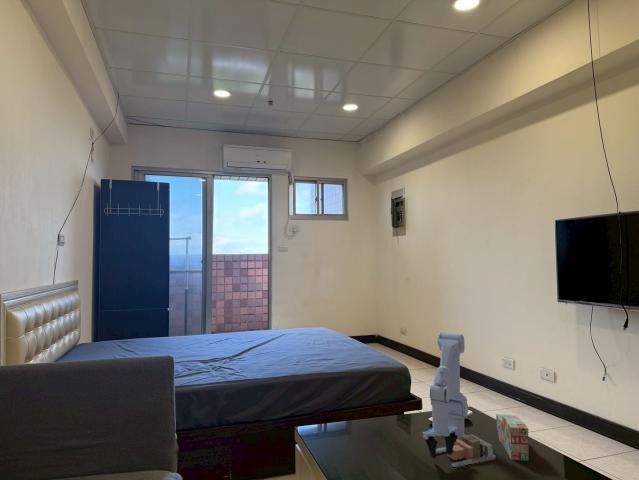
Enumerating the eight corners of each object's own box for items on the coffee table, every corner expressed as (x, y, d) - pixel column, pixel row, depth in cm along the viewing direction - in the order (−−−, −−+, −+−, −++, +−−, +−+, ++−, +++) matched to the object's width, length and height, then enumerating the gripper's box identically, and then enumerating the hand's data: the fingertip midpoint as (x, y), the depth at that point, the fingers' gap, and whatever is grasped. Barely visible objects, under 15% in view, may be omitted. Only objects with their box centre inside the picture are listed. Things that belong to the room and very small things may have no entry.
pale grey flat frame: (432, 452, 158) (431, 440, 158) (471, 444, 165) (470, 433, 165) (454, 468, 146) (454, 455, 146) (495, 458, 152) (495, 446, 153)
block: (461, 451, 158) (460, 436, 159) (469, 450, 160) (468, 434, 160) (472, 458, 153) (471, 442, 153) (480, 456, 154) (480, 440, 155)
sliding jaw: (443, 453, 157) (443, 441, 157) (459, 450, 159) (459, 438, 160) (458, 462, 149) (457, 450, 149) (474, 459, 152) (473, 447, 152)
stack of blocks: (496, 436, 172) (495, 406, 173) (512, 437, 171) (511, 407, 172) (511, 460, 151) (510, 426, 152) (529, 461, 150) (528, 427, 151)
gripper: (430, 425, 146) (431, 464, 145) (463, 419, 151) (464, 456, 150) (419, 418, 152) (419, 455, 152) (450, 412, 158) (451, 448, 157)
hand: (441, 455), depth 151 cm, fingers open, 7 cm apart
